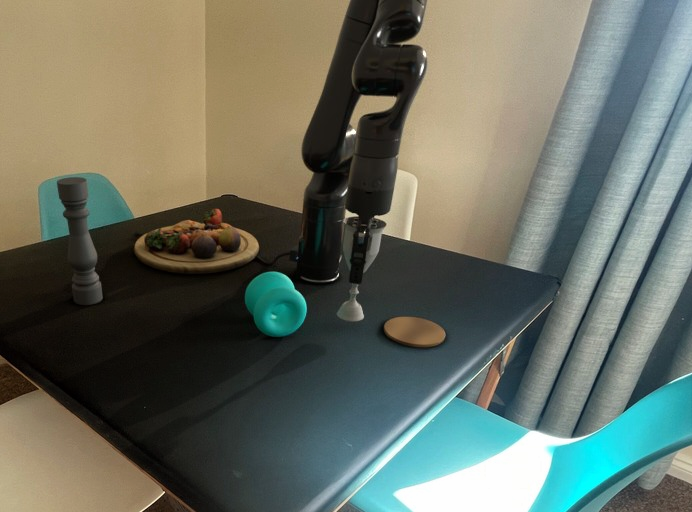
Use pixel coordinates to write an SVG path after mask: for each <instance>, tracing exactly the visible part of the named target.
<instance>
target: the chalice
mask: <svg viewBox="0 0 692 512" xmlns="http://www.w3.org/2000/svg"><path fill="white" fill-rule="evenodd" d="M354 218H358V215H356V216H355V215H354V216H349V217H345V219H344V220H343V222H344V234H343V241H342V251H343V256H344V260H345V262H346V265H347V268H348V270H349V271H350V270H351V264H350V259H351V253H352V249H351V247H350V246H351V240H352V234H353V233H354V232H355V231H356V229H357V228H355V227H352V225H353V222H354ZM373 220H378V221H377V227H376V229H370V238H371V237H372V236H373V239H372V244H371V250H370V251H368V252H367V256H366V260H367V261H366V263H365V265H364V271H363V274H364V273H366V271H368V269H369V267H370V266H371V265H372V263H373V262H374V261H375V259H376V257H377V256H378V254H379V251H380V247H381V240H382V235H383V230H385V228H386V227H387V222H386V221H384V220H383V219H380V218H376V217H374V218H373ZM368 244H369V241H368ZM355 257H362V258H363V254H362V253H355ZM350 284H351V288H350V289H349V291H348V292H349V293H350V294H349V295H350V297H349V299H348V300H346V301H345V302H343V303H342V304H341V306H340V307H339V309H338V311H337V312H336V316H337V317H338V318H339V319H340V320H343V321H347V322H360V321H362V320H363V319H364V318H365V315H364V313H363V312H364V311H363V308H362V306H361V304H360V303H359V302H358V301H357V300H356V297H357V295H358V294H359V293H360V292H359V290H358V287H359V285H360V284H352V283H350Z"/></svg>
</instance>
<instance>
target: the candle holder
mask: <svg viewBox="0 0 692 512" xmlns="http://www.w3.org/2000/svg"><path fill="white" fill-rule="evenodd" d="M56 188H57V194H58V199H59V200H60V203H61V204H62V205H63V207H64V209H65V210H64V211H63V212H62V216H63V218H65V220H66V221H67V229H68V245H67V247H68V248H67V259H66V260H67V263H68V265H69V266H70V267H71V268H72V269H73V270H72V271H73V272H74V274H73V276H72V277H71V283H72V284H71V291H72V292H71V293H72V297H73V298H72V299H73V302H74V303H75V304H77V305H80V306H91V305H94V304H98V303H100V302H101V301H102V300H103V298H104V297H103V296H104V295H103V288H102V282H101V281H100V275H98V273H97V272H96V271H95V270H96V267H95V266H96V265H97V264H98V263H97V262H98V253H97V250H96V248H95V245H94V242H93V240H92V237H91V233H90V231H89V224H88V217H89V215H90V210H89V209H88V208H86V207H87V203H88V199H89V188H88V180H87V178H85V177H79V176H72V177H71V176H70V177H63V178H60V179H58V180H56Z"/></svg>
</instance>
